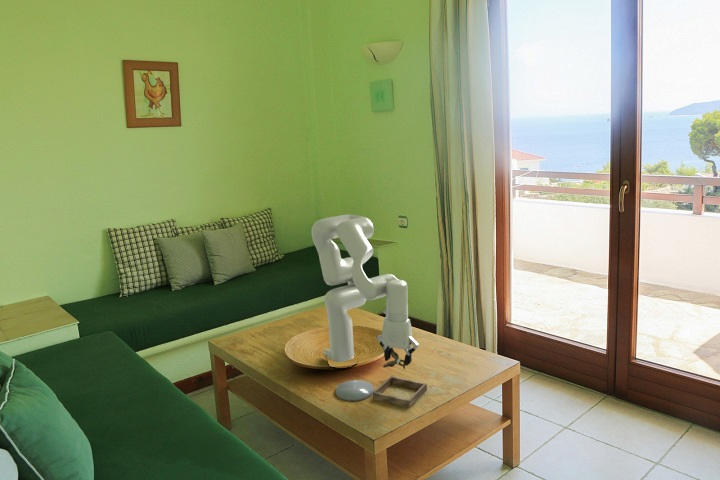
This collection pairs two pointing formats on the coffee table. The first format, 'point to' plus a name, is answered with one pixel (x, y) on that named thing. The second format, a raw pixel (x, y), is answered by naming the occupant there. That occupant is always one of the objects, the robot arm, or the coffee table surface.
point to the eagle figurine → (396, 361)
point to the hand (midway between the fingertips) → (397, 361)
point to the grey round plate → (354, 390)
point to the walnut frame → (396, 400)
